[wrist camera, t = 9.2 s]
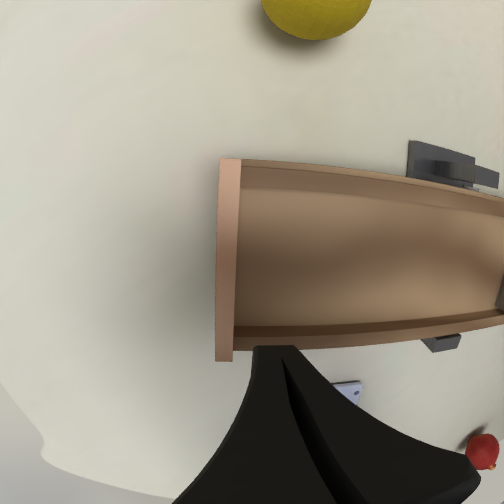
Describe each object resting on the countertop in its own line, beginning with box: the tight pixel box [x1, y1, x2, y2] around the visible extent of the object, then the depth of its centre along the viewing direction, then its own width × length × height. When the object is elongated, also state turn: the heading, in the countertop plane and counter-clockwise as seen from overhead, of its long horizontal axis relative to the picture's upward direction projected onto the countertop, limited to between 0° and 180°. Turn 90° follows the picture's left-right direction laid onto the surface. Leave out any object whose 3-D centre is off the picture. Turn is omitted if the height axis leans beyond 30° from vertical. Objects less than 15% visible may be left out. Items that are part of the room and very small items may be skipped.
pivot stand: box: [406, 141, 499, 353], centre depth 17 cm, size 14×6×5 cm, turn 177°
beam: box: [215, 158, 504, 362], centre depth 15 cm, size 9×26×3 cm, turn 87°
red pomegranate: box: [465, 434, 499, 470], centre depth 27 cm, size 6×6×8 cm
